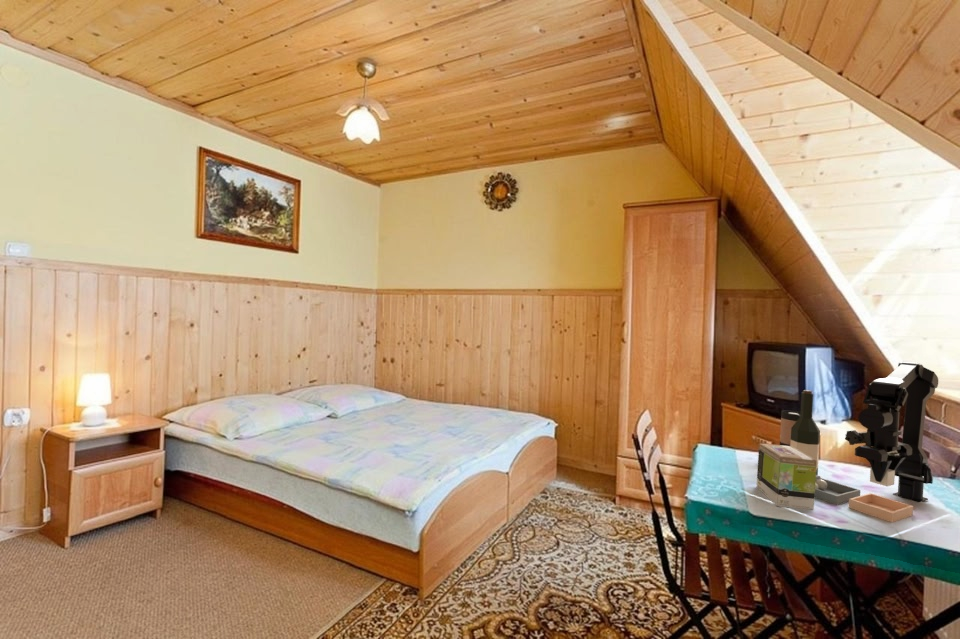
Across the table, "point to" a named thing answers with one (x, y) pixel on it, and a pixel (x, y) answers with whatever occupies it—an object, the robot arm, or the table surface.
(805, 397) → the wine bottle
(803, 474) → the tea box
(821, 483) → the cream glossy ball
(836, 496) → the bin
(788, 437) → the travel mug
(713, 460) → the table surface
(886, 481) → the beige cube
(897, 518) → the bin
